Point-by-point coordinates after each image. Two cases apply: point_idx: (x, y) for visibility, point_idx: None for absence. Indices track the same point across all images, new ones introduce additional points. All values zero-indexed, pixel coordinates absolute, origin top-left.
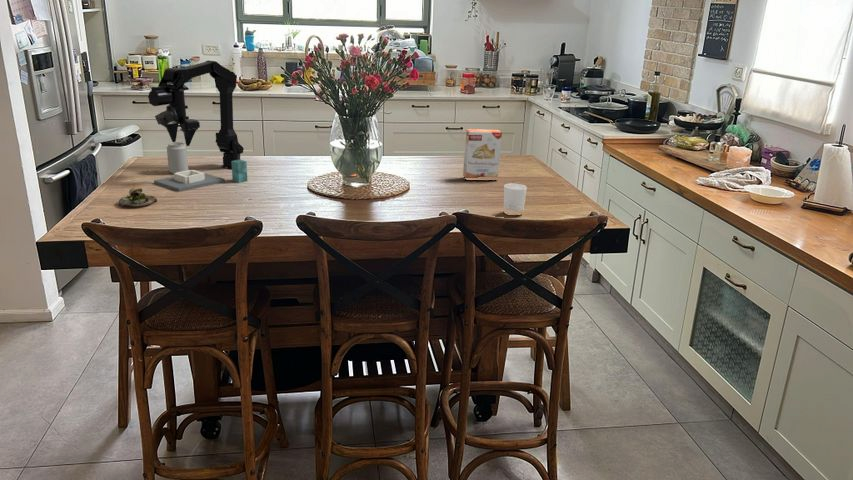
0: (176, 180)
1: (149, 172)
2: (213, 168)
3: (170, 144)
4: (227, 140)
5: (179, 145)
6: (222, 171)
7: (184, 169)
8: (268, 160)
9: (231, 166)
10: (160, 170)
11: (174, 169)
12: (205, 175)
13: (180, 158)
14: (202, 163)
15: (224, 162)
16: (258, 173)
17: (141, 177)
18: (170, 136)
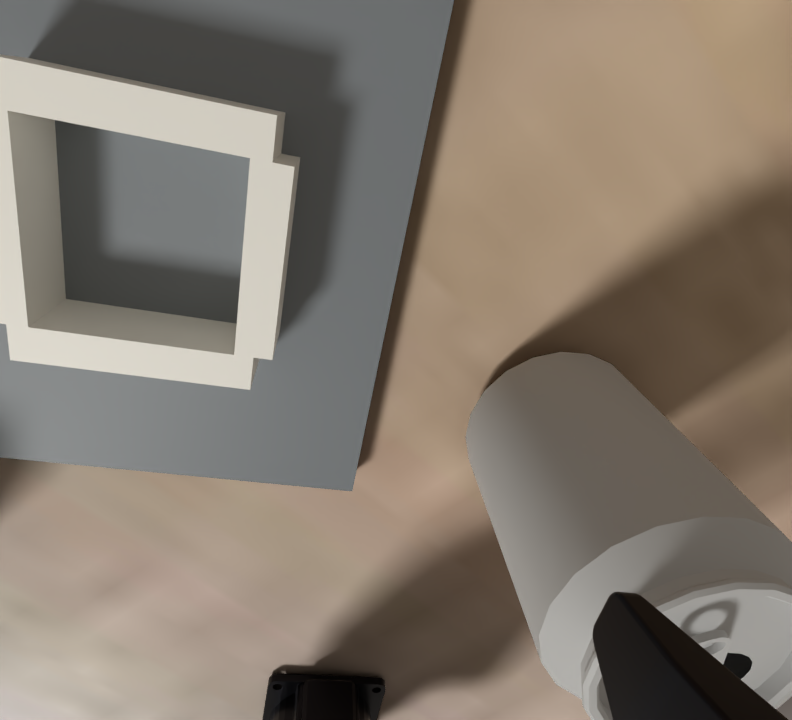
0: (240, 103)
1: (785, 275)
2: (400, 628)
3: (788, 627)
4: None
5: None
6: (279, 615)
7: (473, 439)
8: None
9: (289, 701)
10: (729, 378)
11: (539, 374)
12: (187, 434)
13: (521, 491)
14: None
15: (333, 713)
16: (29, 709)
17: (759, 75)
18: (765, 717)
